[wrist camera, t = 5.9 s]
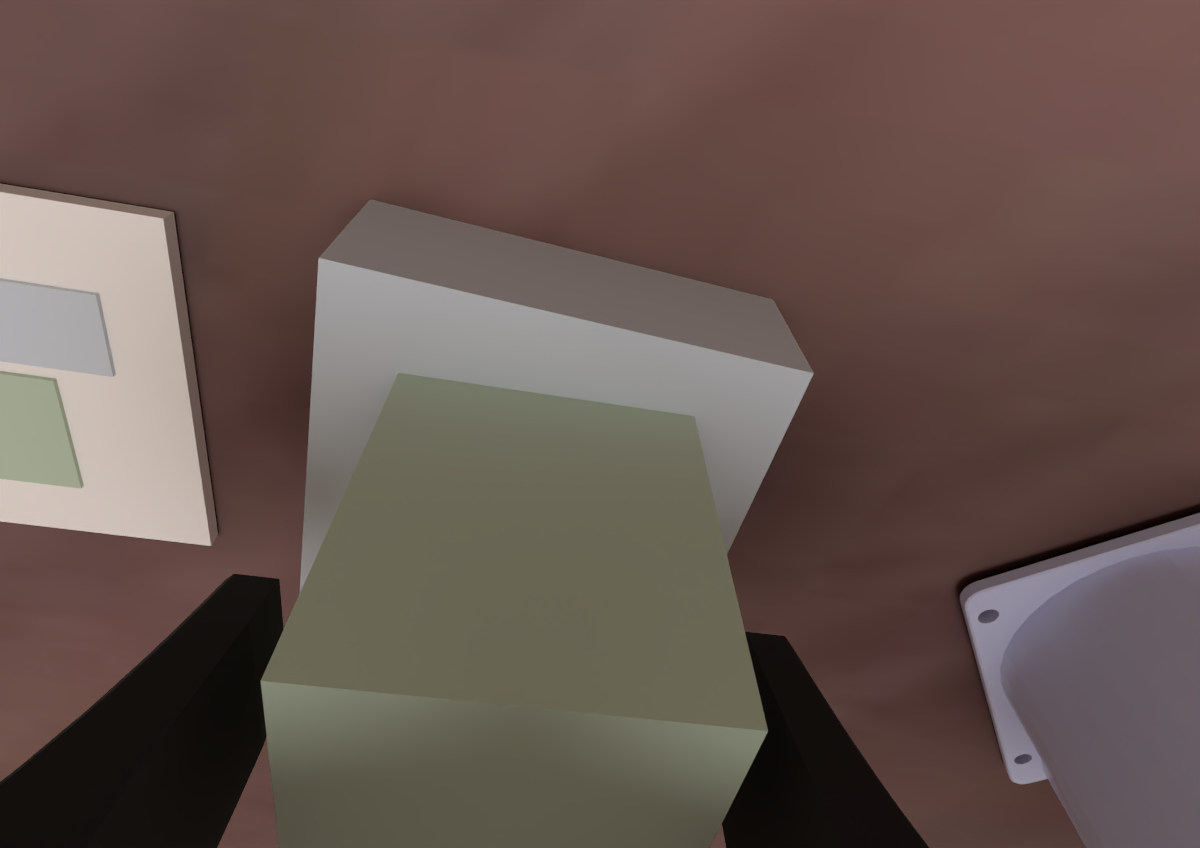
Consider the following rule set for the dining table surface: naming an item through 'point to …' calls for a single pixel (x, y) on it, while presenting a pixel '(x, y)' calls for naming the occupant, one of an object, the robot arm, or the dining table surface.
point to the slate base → (538, 345)
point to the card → (98, 372)
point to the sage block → (514, 636)
